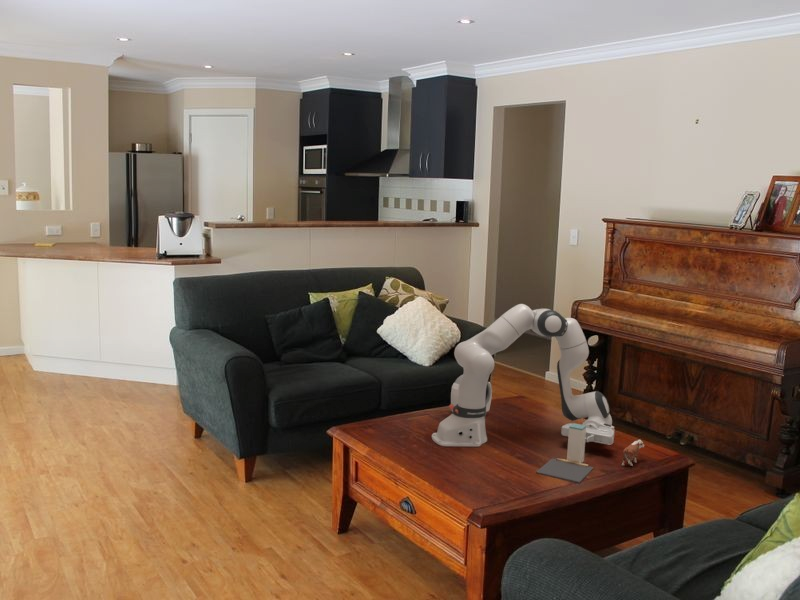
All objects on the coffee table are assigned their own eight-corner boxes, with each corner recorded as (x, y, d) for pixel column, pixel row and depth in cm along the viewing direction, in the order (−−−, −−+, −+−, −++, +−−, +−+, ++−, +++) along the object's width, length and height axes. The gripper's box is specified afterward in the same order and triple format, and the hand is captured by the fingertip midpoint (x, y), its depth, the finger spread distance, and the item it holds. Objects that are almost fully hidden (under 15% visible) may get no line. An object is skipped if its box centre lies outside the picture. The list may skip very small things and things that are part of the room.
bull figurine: (645, 460, 296) (646, 439, 295) (628, 468, 287) (630, 447, 285) (634, 457, 299) (636, 436, 298) (617, 465, 290) (619, 444, 288)
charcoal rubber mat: (536, 473, 279) (536, 471, 279) (552, 459, 293) (552, 458, 293) (579, 483, 271) (579, 481, 271) (593, 468, 285) (593, 467, 285)
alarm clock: (458, 421, 336) (460, 376, 333) (448, 416, 343) (450, 371, 340) (492, 416, 345) (494, 372, 342) (481, 411, 352) (483, 368, 349)
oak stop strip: (556, 461, 291) (556, 459, 291) (557, 460, 293) (557, 457, 293) (587, 468, 285) (587, 465, 285) (588, 467, 287) (588, 464, 287)
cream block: (566, 462, 291) (569, 426, 289) (570, 458, 296) (573, 423, 293) (579, 465, 289) (582, 429, 287) (583, 461, 293) (586, 425, 291)
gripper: (567, 417, 313) (556, 426, 302) (618, 427, 303) (608, 436, 291) (566, 432, 314) (555, 441, 303) (617, 442, 304) (607, 452, 292)
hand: (581, 439), depth 297 cm, fingers closed
